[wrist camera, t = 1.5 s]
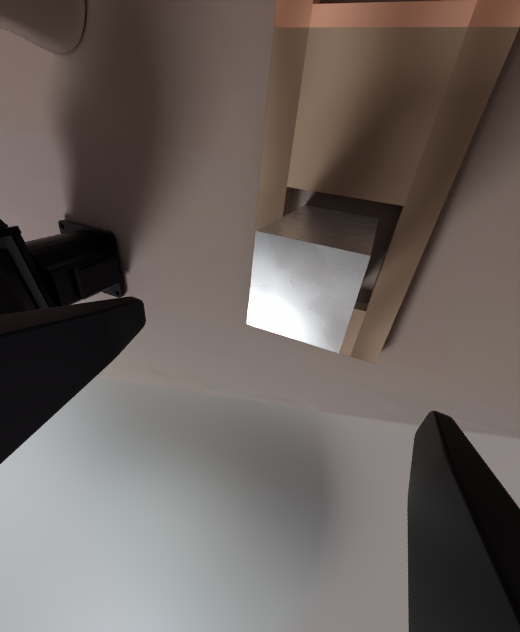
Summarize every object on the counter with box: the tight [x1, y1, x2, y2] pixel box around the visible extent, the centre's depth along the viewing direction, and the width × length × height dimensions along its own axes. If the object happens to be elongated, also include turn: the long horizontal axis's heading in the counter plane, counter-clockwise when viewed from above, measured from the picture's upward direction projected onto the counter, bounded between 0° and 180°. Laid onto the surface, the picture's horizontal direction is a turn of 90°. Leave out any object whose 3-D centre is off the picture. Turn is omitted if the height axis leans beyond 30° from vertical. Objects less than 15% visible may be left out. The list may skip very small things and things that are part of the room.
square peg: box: [247, 205, 379, 353], centre depth 15 cm, size 4×4×8 cm
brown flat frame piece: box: [246, 0, 520, 364], centre depth 14 cm, size 10×26×1 cm, turn 174°
